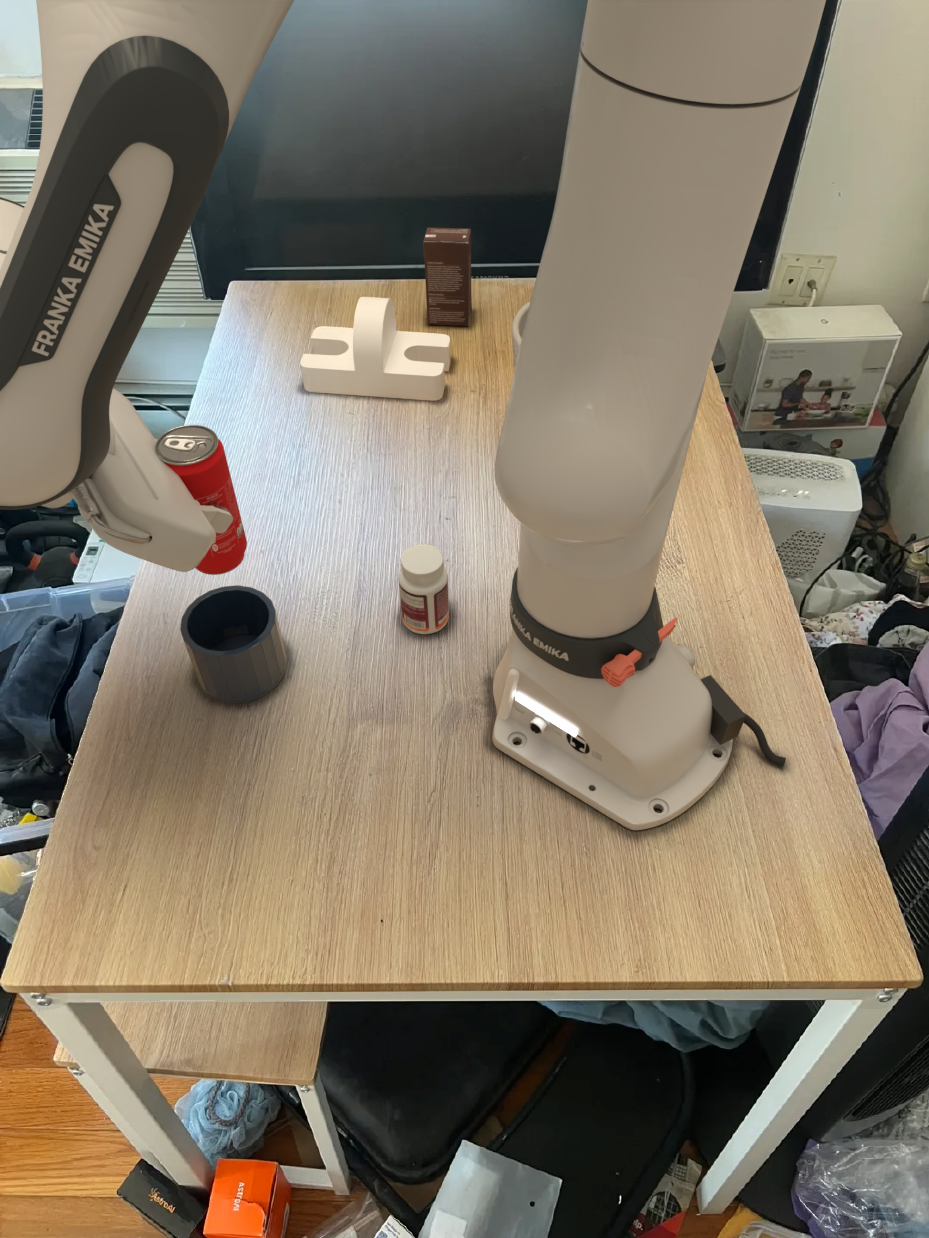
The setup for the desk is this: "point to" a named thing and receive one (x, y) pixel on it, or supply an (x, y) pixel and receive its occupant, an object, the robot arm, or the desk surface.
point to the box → (448, 276)
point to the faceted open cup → (234, 643)
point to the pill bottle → (423, 589)
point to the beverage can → (206, 488)
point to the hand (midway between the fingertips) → (210, 497)
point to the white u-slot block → (376, 357)
